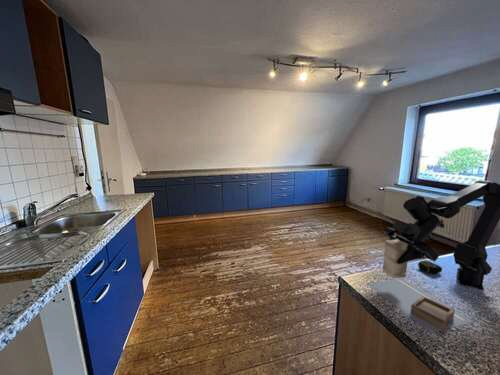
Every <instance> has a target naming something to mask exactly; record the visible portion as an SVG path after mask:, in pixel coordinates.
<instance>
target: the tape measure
mask: <svg viewBox="0 0 500 375" xmlns="http://www.w3.org/2000/svg"><path fill="white" fill-rule="evenodd" d="M417 266H418V269H419V271H421V272H423V273H426V274H428V273H429V275H437V274H440V273H441V272H442V271H443V268H442V266H440V265H438V264H436V263H434V262H433V261H432V262H431V261H429V260H427V259H423V260H421V261H419V262H418V264H417Z"/></svg>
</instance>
